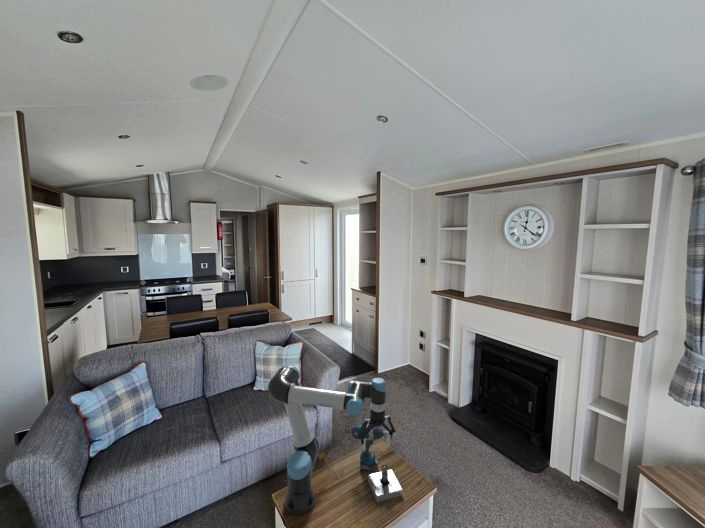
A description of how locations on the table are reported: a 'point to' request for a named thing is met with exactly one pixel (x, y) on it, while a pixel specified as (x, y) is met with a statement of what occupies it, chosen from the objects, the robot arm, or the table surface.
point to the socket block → (387, 490)
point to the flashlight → (384, 475)
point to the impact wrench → (366, 456)
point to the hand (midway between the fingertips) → (376, 447)
